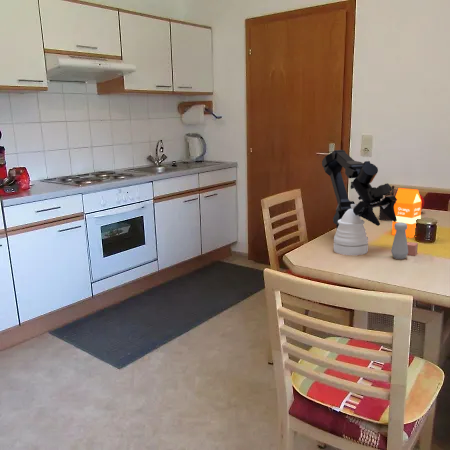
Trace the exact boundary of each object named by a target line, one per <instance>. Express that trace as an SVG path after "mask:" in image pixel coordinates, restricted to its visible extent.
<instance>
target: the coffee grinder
mask: <svg viewBox="0 0 450 450" xmlns="http://www.w3.org/2000/svg"><path fill="white" fill-rule="evenodd" d="M382 185H383V184H380V185H378V186H377V187H380V186H382ZM391 187H392V190H391V191H390V192H391V193H390V194H386V195H384V197H383V198H382V199H381V201H382V200H383V199H384V198H385V197H386V196H395V185H391ZM378 218H379V219H378V221H379V220H380V221H390V222H393V221H392V220H391V219H390V218H389V217H388V216H387V215H386V214H384V213H383V212H382V209H380V208H379V216H378Z"/></svg>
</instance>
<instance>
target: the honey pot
mask: <svg viewBox="0 0 450 450" xmlns="http://www.w3.org/2000/svg"><path fill="white" fill-rule="evenodd" d="M357 204H358V203H355V204H351V208H352V209H348V210H347V211H346V212H345V214H344V215H343V217H342V219H340V220H338V223H339V226H338V228H337V231H335V232H334V233H335V234H334V236H333V252H334V253H336V254H338V255H344V256H361V255H365V254H367V253H368V250H369V246H368V245H369V238H368V236H367V231H366V229H365V226H364V224H365V219H362V217H359V215H357V216H356V215H355V214H354V212H353V208H354V207H355V206H356V205H357Z"/></svg>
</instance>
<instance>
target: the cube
mask: <svg viewBox="0 0 450 450" xmlns="http://www.w3.org/2000/svg"><path fill="white" fill-rule="evenodd" d="M418 245H419V243H418V242H412V241H407V246H408V254H407V256H414V257H415V256H416V255H417V254H418Z"/></svg>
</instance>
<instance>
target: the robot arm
mask: <svg viewBox="0 0 450 450" xmlns="http://www.w3.org/2000/svg"><path fill="white" fill-rule="evenodd" d="M321 165H322V167H323V170H324V172H325V174H327V175H328V176H329V177H330V181H331V185H332V187H333V190H334V191H333V192H334V195H335V199H336V202H337V206H336V208H335V213H334V215H333V218H332V221H333V224H335V225H336V228H335V229H336V231H337V228H338V226H339V223H338V220H340V219H342V217H343V215H344V214H345V212H346V211H347V210H348V209H352V208H351V204H357V205H356V206H355V207H354V208H353V212H354V214H355V215H356V216H357V215H359V217H360V218H361V219H362V218H363V220H366V221H369V222H370V223H372V224H373V225H376V226H377V227H379V226H380V225H381V222H380V221H379V219H378V217H377V215H376V214H375V212H374V208H379V210H380V209H382V212H383V213H384V214H386V215H387V216H388V217H389V218H390V219H391V220H392V221H391V222H393V221H394V222H396V221H397V219H396V215H395V211H394V204H395V203H396V201H397V199H396V195H394V196H391V195H389V196H386V197H385V195H386V194H390V193H391V191H392V185H390V184H389V183H387V182H386V183H384V184H381V185H382V186H380V185H379V186H380V187H378V186H377V187H373V186H372V185H371V183H372V182H373V181H374V179H375V177H376V176H377V174H378V172H379V170H378V169H379V168H378V166H376V165H375V164H373V163H371V162H370V160H368V161H367V160H366V161H364V162H362V161H357V160H355V159H353V158H352V156H350V155H349V154H348V153H347V152H346V150H344V149H336V150H333V151H332V152H331V153H328V154H327V155H325V156H324V158H323V159H322V160H321ZM342 169H345V171H344V174H345V175H346V177H347V178H348V179H353V181H351V182H350V190H352V189H354V190H355V192H356V193H357V194H358V197H357V198H358V203H355V202H354V200H353V201H352V200H350V199H349V196H348V192H347V189H346V186H345V182H344V179H343V175H342ZM383 198H384V199H383ZM382 199H383V200H382ZM381 200H382V201H381ZM336 231H335V232H336Z"/></svg>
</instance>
